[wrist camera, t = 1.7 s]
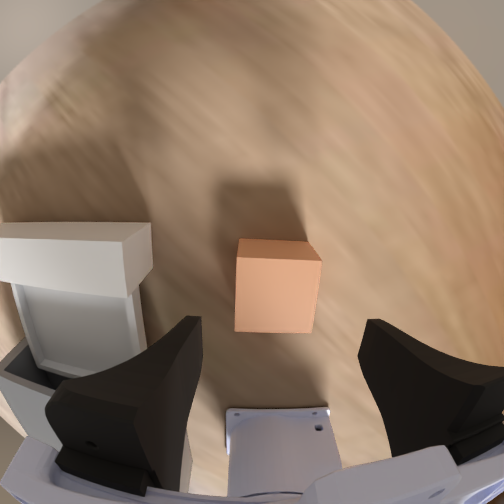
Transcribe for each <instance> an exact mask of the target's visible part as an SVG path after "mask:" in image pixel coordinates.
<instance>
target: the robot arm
mask: <svg viewBox="0 0 504 504" xmlns="http://www.w3.org/2000/svg"><path fill="white" fill-rule="evenodd" d="M202 359H203V348H202V325H201V317H199V316H186V317H185V318H184V319H182V320H181V321H180V322H179V323H178V324H177V325H176V326H175V327H174V328H173V329H171V330H170V331H169V332H168V333H167V334H166V335H165V336H163V337H162V338H161V339H160V340H158V341H157V342H156V343H154V344H153V345H152V346H150V347H149V348H148V349H146V350H145V351H143V352H141V353H140V354H138V355H136V356H135V357H133V358H131V359H129V360H127V361H125V362H123V363H120V364H118V365H116V366H114V367H112V368H109V369H106V370H104V371H101V372H97V373H94V374H91V375H87V376H83V377H78V378H73V379H68V380H63V381H62V382H61V384H60V385H59V387H58V388H57V389H56V391H55V392H54V394H53V395H52V397H51V398H50V399H49V401H48V402H47V404H46V406H45V415H46V418H47V420H48V422H49V424H50V426H51V428H52V429H53V431H54V432H55V434H56V436H57V437H58V439H59V440H60V442H61V443H62V445H63V446H62V448H61V450H60V452H58V451H57V450H56V449H55V448H53V447H52V446H50V445H48V444H45V443H43V442H41V441H39V440H37V439H35V438H32V437H30V436H26V438H25V440H24V441H23V443H22V444H21V446H20V448H19V449H18V451H17V453H16V454H15V456H14V458H13V460H12V461H11V463H10V465H9V467H8V468H7V470H6V472H5V474H4V476H3V478H2V479H1V481H0V484H1V486H2V487H3V488H4V489H5V490H6V491H8V492H9V493H10V494H11V495H12V496H13V497H14V498H15V499H17V500H18V501H19V502H20V503H21V504H485V503H487V502H488V501H490V500H491V499H493V498H494V497H496V496H497V495H498V494H500V493H501V492H503V491H504V424H503V423H502V421H504V415H503V414H502V411H503V410H504V367H497V366H488V365H482V364H477V363H473V362H469V361H465V360H462V359H459V358H456V357H453V356H450V355H447V354H445V353H443V352H440V351H438V350H436V349H433V348H431V347H429V346H428V345H426V344H424V343H422V342H420V341H418V340H416V339H415V338H413V337H411V336H409V335H408V334H406V333H404V332H403V331H401V330H399V329H398V328H396V327H394V326H393V325H391V324H389V323H387V322H385V321H383V320H381V319H367V323H366V327H365V331H364V335H363V338H362V342H361V346H360V349H359V353H358V360H359V363H360V367H361V370H362V373H363V376H364V378H365V380H366V382H367V384H368V387H369V389H370V391H371V393H372V395H373V397H374V399H375V402H376V404H377V406H378V408H379V410H380V413H381V416H382V418H383V422H384V425H385V429H386V432H387V436H388V440H389V444H390V449H391V454H392V458H389V459H385V460H380V461H376V462H371V463H366V464H361V465H355V466H351V467H347V468H344V469H342V463H341V459H340V455H339V451H338V448H337V444H336V440H335V437H334V433H333V430H332V426H331V423H330V419H329V414H330V409H329V408H328V407H318V408H300V409H237V408H229V409H227V410H226V445H227V454H228V455H229V472H228V493H227V497H221V496H208V495H198V494H190V493H182V492H179V490H180V477H181V467H182V457H183V449H184V441H185V434H186V427H187V421H188V417H189V413H190V409H191V406H192V402H193V399H194V395H195V392H196V388H197V385H198V381H199V377H200V373H201V366H202ZM313 412H314V413H313Z"/></svg>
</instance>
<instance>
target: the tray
mask: <svg viewBox="0 0 504 504" xmlns="http://www.w3.org/2000/svg"><path fill="white" fill-rule="evenodd" d="M152 269H153V256H152V236H151V223H141V222H10V223H1V224H0V281H3V282H9V283H11V287H12V291H13V295H14V299H15V302H16V306H17V310H18V313H19V317H20V320H21V323H22V326H23V329H24V332H25V335H26V338H27V341H28V344H29V347H30V349H31V352H32V355H33V357H34V360H35V362H36V365H37V367H38V368H39V369H42V370H45V371H49V372H52V373H55V374H58V375H62V376H65V377H69V378H72V379H73V378H78V377H83V376H87V375H91V374H94V373H97V372H101V371H104V370H106V369H109V368H112V367H114V366H116V365H118V364H120V363H123V362H125V361H127V360H129V359H131V358H133V357H135V356H136V355H138V354H140V353H141V352H143V351H145V350H146V349H147V343H146V336H145V330H144V323H143V316H142V308H141V300H140V291H139V284H140V283H141V282H142V280H143V279H144V278H145V277H146V276H147V275H148V273H149V272H150V271H151V270H152Z"/></svg>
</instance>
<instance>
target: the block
mask: <svg viewBox="0 0 504 504" xmlns="http://www.w3.org/2000/svg"><path fill="white" fill-rule="evenodd" d="M321 267H322V260H321V258H320V257H319V256H318V254H317V253H316V251H315V250H314V249H313V247H312V246H311V245H310V243H309V242H306V241H286V240H265V239H243V238H239V244H238V252H237V265H236V296H235V331H236V332H262V333H311V332H312V327H313V321H314V315H315V308H316V302H317V295H318V289H319V282H320V275H321Z"/></svg>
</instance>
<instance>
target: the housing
mask: <svg viewBox="0 0 504 504" xmlns="http://www.w3.org/2000/svg"><path fill="white" fill-rule="evenodd" d="M68 379H72V378H69V377H65V376H62V375H58V374H55V373H52V372H49V371H45V370H42V369H39V368H38V367H37V365H36V362H35V360H34V357H33V355H32V352H31V349H30V347H29V344H28V341H27V338H26V337H25V338H24V339H23V340H22V341H21V342H19V343H18V344H17V345H16V346H15V347H14V348H13V349H12V350H11V351H10V352H9V353H8V354H7V355H6V356H5V357H4V358H3V359H2V361H1V362H0V390H1V392H2V394H3V396H4V398H5V399H6V401H7V403H8V405H9V406H10V408H11V410H12V411H13V413H14V415H15V416H16V418H17V419H18V421H19V423H20V424H21V426H22V427H23V429H24V430H25V432H26V433H27V435H28V436H30V437H32V438H35V439H37V440H39V441H41V442H43V443H45V444H48V445H50V446H52V447H53V448H55V449H56V450H57V451H58V452H60V450H61V448H62V446H63V445H62V443H61V442H60V440H59V439H58V437H57V436H56V434H55V432H54V431H53V429H52V428H51V426H50V424H49V422H48V420H47V418H46V415H45V406H46V404H47V402H48V401H49V399H50V398H51V397H52V395H53V394H54V392H55V391H56V389H57V388H58V387H59V385H60V384H61V382H62V381H63V380H68ZM192 462H193V460H192V455H191V450H190V445H189V440H188V435H187V429H186V434H185V441H184V449H183V457H182V467H181V477H180V490H179V492H182V493H188V489H189V482H190V475H191V469H192Z"/></svg>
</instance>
